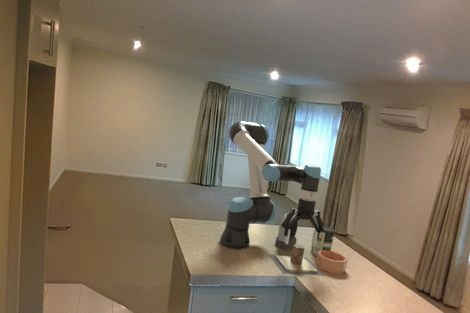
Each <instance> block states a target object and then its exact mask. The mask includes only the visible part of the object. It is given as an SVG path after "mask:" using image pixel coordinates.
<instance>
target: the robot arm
mask: <svg viewBox="0 0 470 313" xmlns="http://www.w3.org/2000/svg"><path fill="white" fill-rule="evenodd" d="M228 136H229V137H228V138H229V139H230V141H231V142H232V143H233V145H234V146H236V147H239V148H240V149H241V150H242V151H243V152H244V153H245V154H246V155H247V164H248V178H249V189H250V195H249V197H244V196H238V197H237V196H236V197H233V198H232V199H230V201H229V205H228V209H227V217H226V223H225V227H224V229H223V232H222V233H221V235H220V238H219V243H220V244H221V245H222V246H224V247H227V248H229V249H233V250H234V249H236V250H242V249H243V250H245V249H248V248H249V247H250V244H251V241H250V233H249V228H250V224H266V223H270V222H271V221H273V220H274V218H275V217H276V212H277V207H276V203H274V202H273V201H272V200H271V196H270V195H269V194H268V192H267V191H268V189H267V182H273V183H274V182H287V183H288V182H289V183H295V184H296V183H297V184H300V186H301V187H300V192H299V198H298V206H297V208H294V207H291V208H290V211H289V212H290V213H289V214H288V216H287V217H286V219H285V220H284V222H283V223H282V225H281V226H282V227H283V228H285V231H284V236H285V243H286V244H288V242H289V236H290V230H289V229H290V228H291V227H292V226H293V225H294V224H295V223H296V222H297V221H298V222H299V221H300V220H307V221H310V223H311V225H312V226H313V228H314V230H316V231H314V230H313V234H312V239H311V246H312V245H313V246H316V240H317V239H318V238H319V233H321V231H324V228H323V226H324V225H323V222H322V217H321V211H319V210H318V209H316V200H317V197H318V190H319V184H320V180H321V173H322V168H321V167H319V166H318V165H313V164H305V165H304V167H302V166H298V165H296V164H287V165H285V164H279V163H278V162H277V161H276V160H275V159H273V157H272V156H271V155H270V154H269V153H268V152H267V151H265V148H266V144H267V143H268V142H269V139H270V133H269V130H268V128H267V127H266V126H265V125H264V124H262V123H258V122H251V121H243V120H237V121H236V122H234V123H233V124H232V125H230V128H229V130H228ZM294 214H295V215H296V216H295V217H294V218H293V219H292V217H293V216H294ZM313 216H315V219H314V217H313ZM291 219H292V220H291ZM290 220H291V221H290ZM315 220H316V221H317V223H316V221H315ZM317 225H318V226H319V228H318V226H317Z"/></svg>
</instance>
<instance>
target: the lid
mask: <svg viewBox="0 0 470 313" xmlns="http://www.w3.org/2000/svg"><path fill="white" fill-rule="evenodd" d="M304 253H305V247H304V246H303V245H301V244H296V245H293V249H291V254H290V256H289V255H275V258H276V259H277V260H278V262H279V263H280V264H281V265H282V267H283V268H284V269H285V270H286V271H290V272H309V273H317V272H318V271H317V270H316V269H315V268H314V267H313V266H312V265H311V264H310V263H309V262H308V261H307V260H306V259H305V258H304Z"/></svg>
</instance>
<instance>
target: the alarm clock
mask: <svg viewBox="0 0 470 313" xmlns="http://www.w3.org/2000/svg"><path fill="white" fill-rule="evenodd" d="M289 213H290V211H288V212H286V213H285V214H284V215H283V217H282V218H281V220H280V224H279V226H278V227H279V228H278V232H277V236H276V239H275V243H274V247H279V248H281V249H285V250H292V249H293V245H297V241H298V240H297V237H296V235H297V232H298V226H299V220H298V221H297V222H296V223H295V224H294V225H293V226H292V227H291V228H290V229H289V230H290V236H289V242H288V244H286V243H285V236H284V231H285V228H283V227H282V226H281V225H282V223H283V222H284V220H285V219H286V217H287V216H288V214H289ZM296 215H297V214H296V213H295V214H294V216H293V217H292V219H293V218H294V217H295V216H296ZM292 219H291V220H292ZM291 220H290V221H291Z"/></svg>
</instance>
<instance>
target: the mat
mask: <svg viewBox="0 0 470 313" xmlns="http://www.w3.org/2000/svg"><path fill="white" fill-rule="evenodd" d="M268 257H269V258H270V259H271V261H272V262H273V263H274V264H275V265H276V267H277V268H278V270H280V272H281V273H282V274H284V275H300V276H301V275H302V276H303V275H304V276H321V277H322V276H323V277H326V276H325V274H324V273H323V272H321V269H319V268H317V266H316V265H315V264H313V262H312V261H311V260H310V259H309V258H308V257H304V256H303V257H304V258H305V259H306V260H307V261H308V262H309V263H310V264H311V265H312V266H313V267H314V268H315V269H316V270H317V271H318V272H317V273H309V272H290V271H286V270H285V269H284V268H283V267H282V265H281V264H280V263H279V262H278V260H277V259H276V258H275V255H274V254H268Z"/></svg>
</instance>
